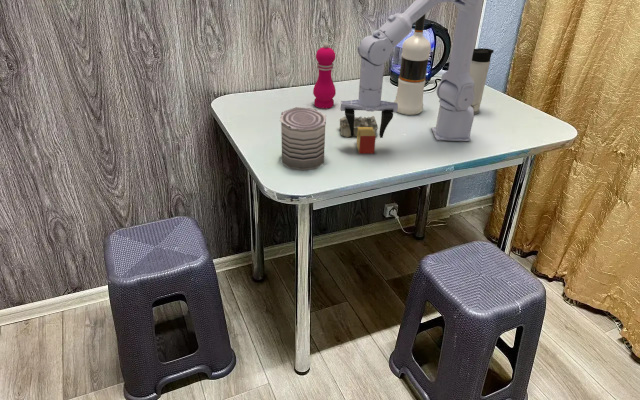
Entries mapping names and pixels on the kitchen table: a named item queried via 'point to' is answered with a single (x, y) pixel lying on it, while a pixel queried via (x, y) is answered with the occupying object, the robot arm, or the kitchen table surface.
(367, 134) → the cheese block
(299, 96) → the kitchen table surface
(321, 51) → the pepper mill
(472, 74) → the travel mug
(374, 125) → the egg carton
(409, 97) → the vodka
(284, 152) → the can
